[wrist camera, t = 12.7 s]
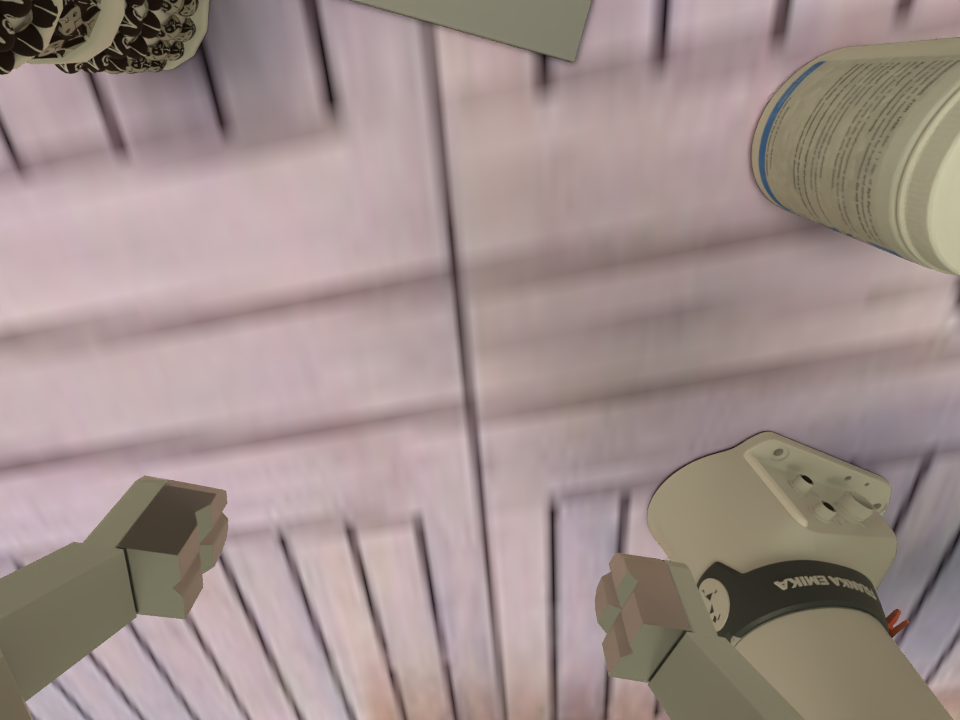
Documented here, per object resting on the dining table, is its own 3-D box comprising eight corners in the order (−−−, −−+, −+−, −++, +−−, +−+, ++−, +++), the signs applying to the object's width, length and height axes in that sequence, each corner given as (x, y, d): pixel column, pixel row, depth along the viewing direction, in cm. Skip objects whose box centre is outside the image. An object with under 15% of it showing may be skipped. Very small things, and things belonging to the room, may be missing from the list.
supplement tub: (761, 232, 35) (925, 325, 22) (730, 97, 31) (910, 116, 18) (910, 165, 33) (1184, 225, 20) (898, 10, 29) (1237, -38, 16)
